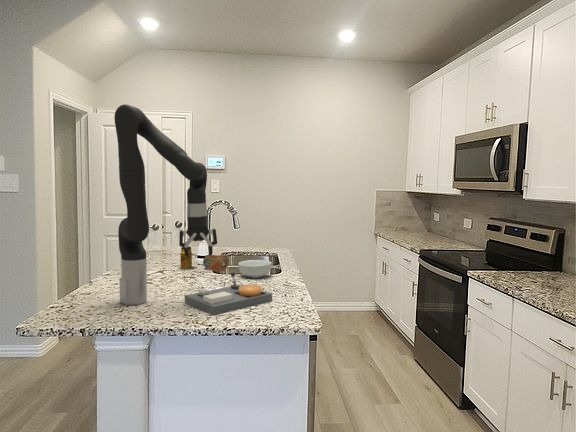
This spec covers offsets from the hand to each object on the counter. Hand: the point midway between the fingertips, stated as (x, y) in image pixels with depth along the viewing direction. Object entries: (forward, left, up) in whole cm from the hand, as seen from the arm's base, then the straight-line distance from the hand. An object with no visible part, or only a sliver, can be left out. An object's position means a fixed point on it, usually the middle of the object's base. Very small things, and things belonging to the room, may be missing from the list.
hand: (198, 256), depth 162 cm
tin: (+40, +48, -19) cm, 65 cm away
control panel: (+10, -6, -19) cm, 22 cm away
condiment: (+31, +62, -19) cm, 71 cm away
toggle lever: (+17, 0, -14) cm, 23 cm away
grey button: (+2, 0, -16) cm, 16 cm away
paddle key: (+2, -10, -16) cm, 19 cm away
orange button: (+17, -10, -16) cm, 26 cm away
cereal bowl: (+47, +23, -19) cm, 55 cm away
